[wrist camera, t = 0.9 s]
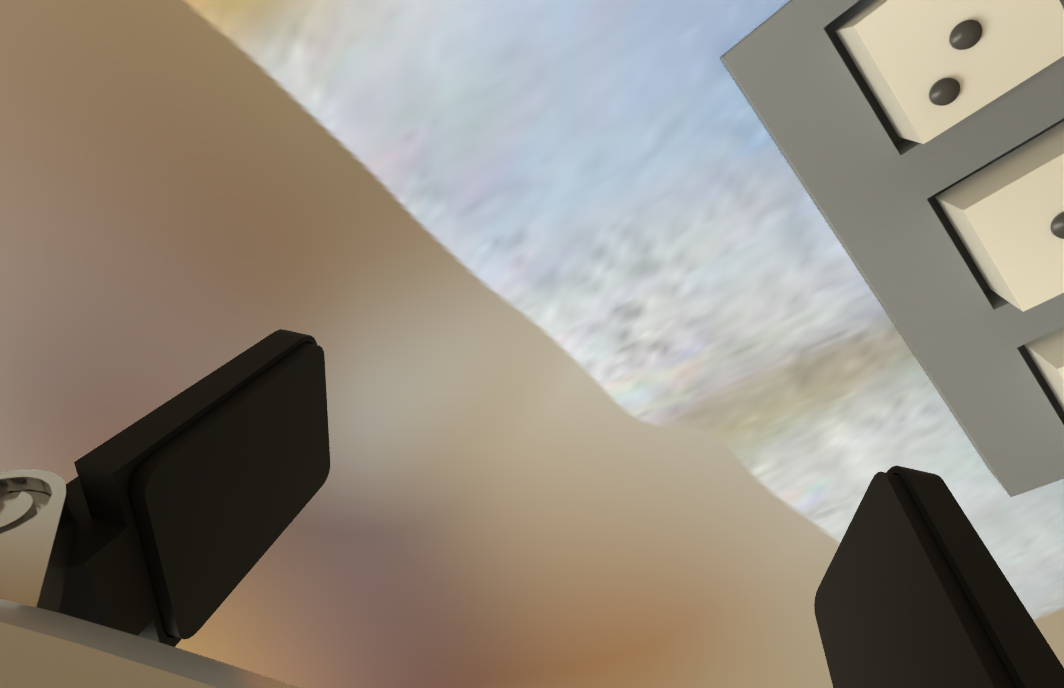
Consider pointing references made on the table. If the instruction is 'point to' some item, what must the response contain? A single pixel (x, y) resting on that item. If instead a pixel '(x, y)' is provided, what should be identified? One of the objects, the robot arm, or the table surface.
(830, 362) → the table surface
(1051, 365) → the tile two
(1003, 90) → the tile three
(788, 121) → the tile board
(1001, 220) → the tile one
